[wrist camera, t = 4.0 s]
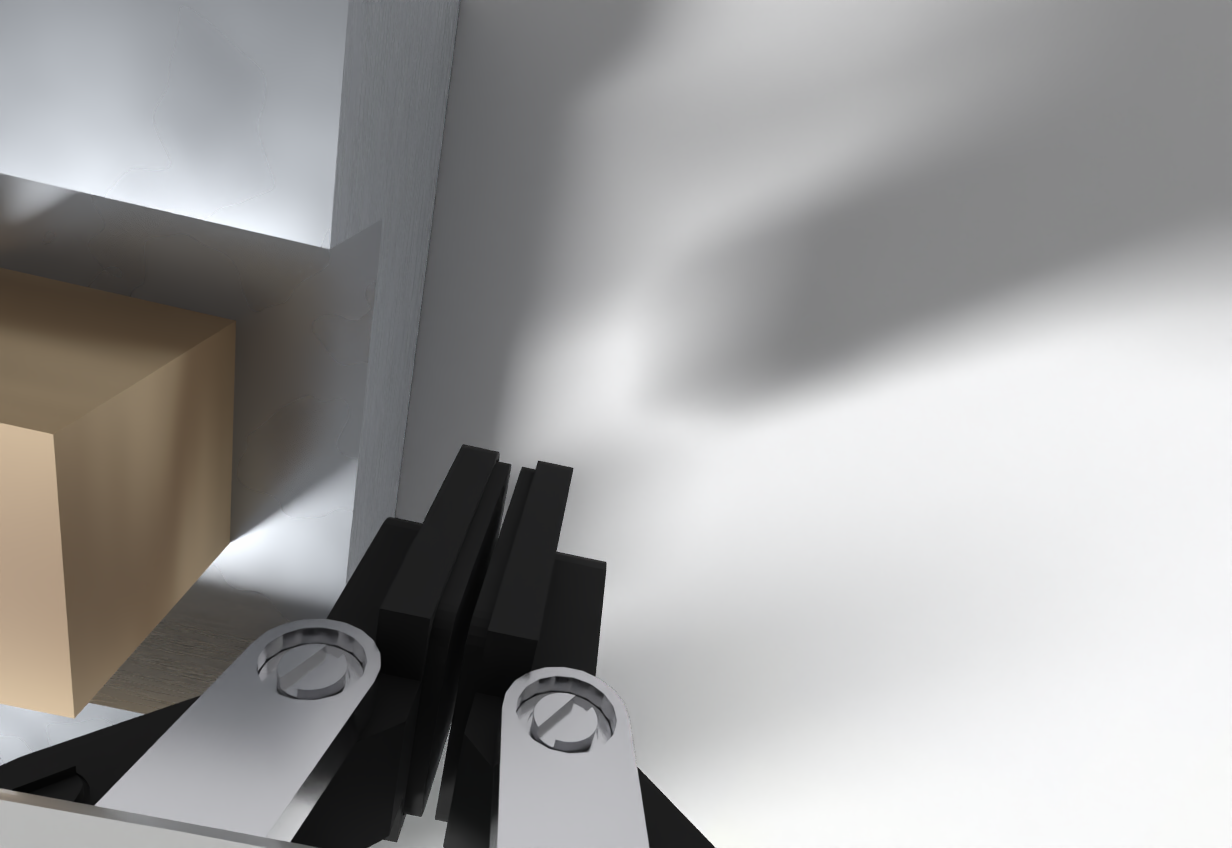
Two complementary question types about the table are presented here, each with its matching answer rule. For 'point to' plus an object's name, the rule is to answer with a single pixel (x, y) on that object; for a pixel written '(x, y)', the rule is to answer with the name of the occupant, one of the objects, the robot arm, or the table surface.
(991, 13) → the table surface
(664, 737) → the table surface
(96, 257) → the slot block
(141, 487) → the light brown cube
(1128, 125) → the table surface
